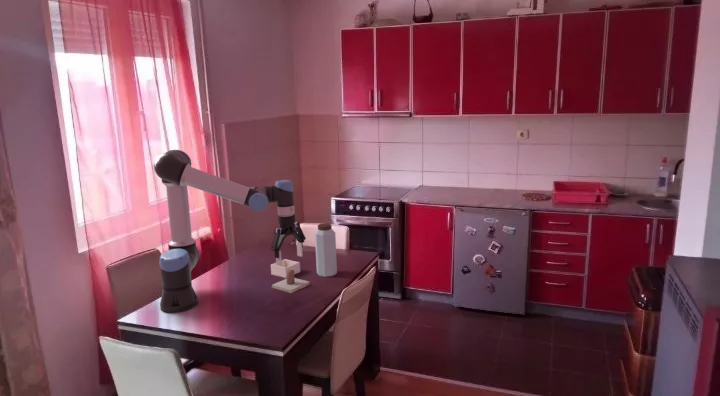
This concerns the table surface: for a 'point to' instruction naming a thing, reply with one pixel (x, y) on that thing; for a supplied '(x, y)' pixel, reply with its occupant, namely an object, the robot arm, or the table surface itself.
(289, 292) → the plate
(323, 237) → the water bottle
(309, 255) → the table surface
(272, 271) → the dish
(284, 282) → the lid
